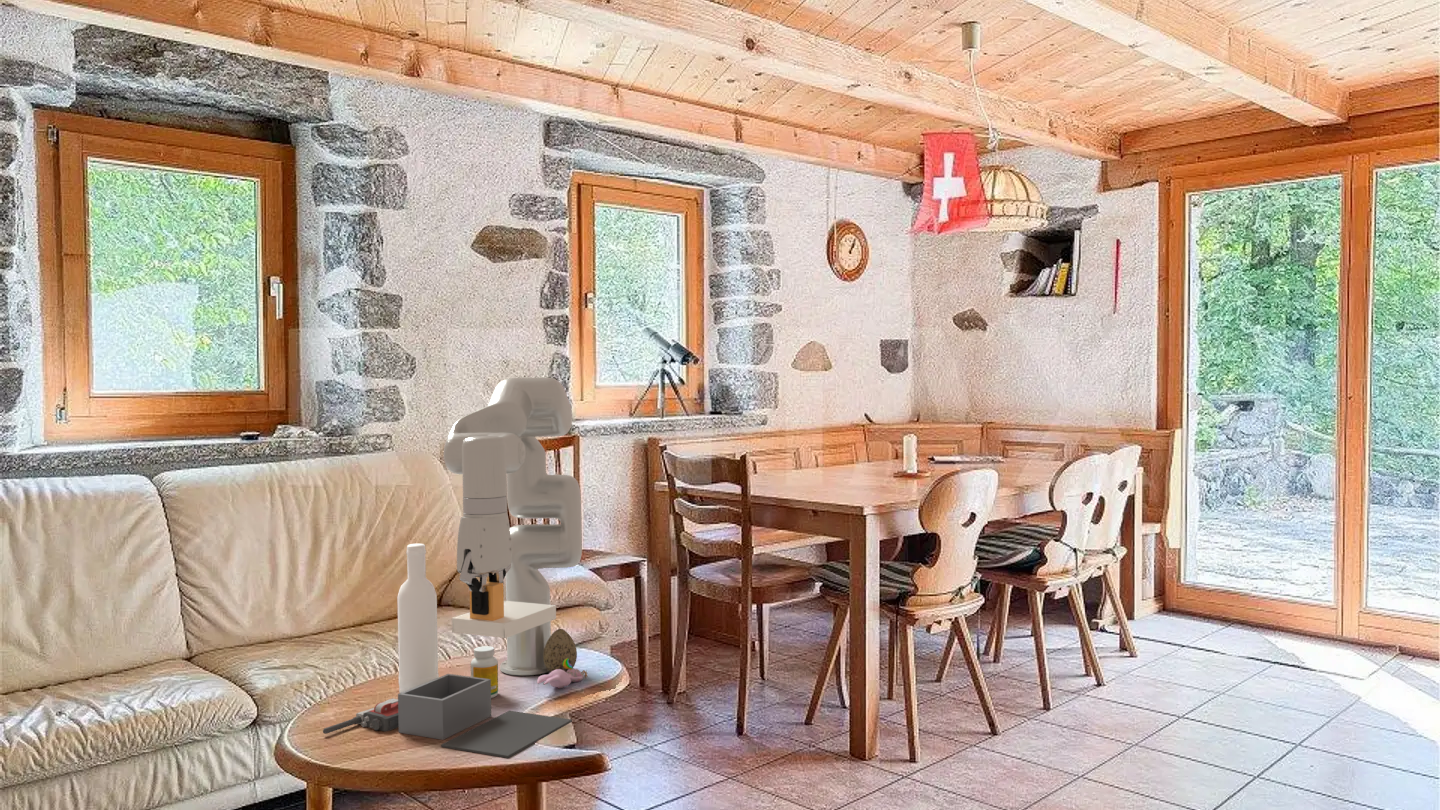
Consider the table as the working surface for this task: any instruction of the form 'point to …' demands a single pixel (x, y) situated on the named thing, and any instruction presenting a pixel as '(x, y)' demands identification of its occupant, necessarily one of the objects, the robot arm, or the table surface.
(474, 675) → the supplement bottle
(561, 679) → the rabbit figure
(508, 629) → the lid
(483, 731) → the mat
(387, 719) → the walkie-talkie
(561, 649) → the decorative egg
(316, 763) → the table surface
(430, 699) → the tub
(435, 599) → the bottle
